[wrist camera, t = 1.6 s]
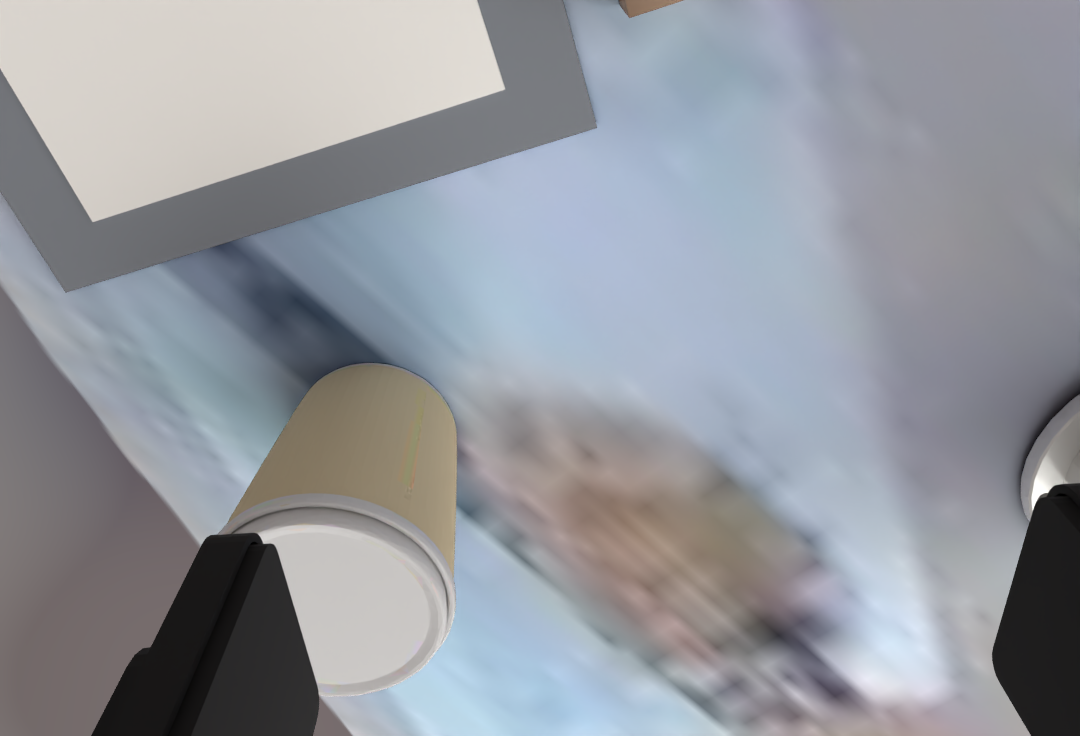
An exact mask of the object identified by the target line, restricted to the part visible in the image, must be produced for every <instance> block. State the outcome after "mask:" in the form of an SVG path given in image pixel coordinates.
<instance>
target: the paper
mask: <svg viewBox="0 0 1080 736" xmlns="http://www.w3.org/2000/svg"><path fill="white" fill-rule="evenodd" d="M0 69H1V71H2V72H3V74H4V76H5V77H6V79H7V81H8V82H9V84H10V86H11V87H12V89H13V91H14V92H15V94H16V96H17V97H18V99H19V101H20V102H21V104H22V106H23V107H24V109H25V111H26V112H27V114H28V116H29V117H30V119H31V121H32V122H33V124H34V126H35V127H36V129H37V131H38V132H39V134H40V136H41V137H42V139H43V141H44V142H45V144H46V146H47V147H48V149H49V151H50V152H51V154H52V156H53V157H54V159H55V161H56V162H57V164H58V166H59V167H60V169H61V170H62V172H63V174H64V175H65V177H66V179H67V180H68V182H69V184H70V185H71V187H72V189H73V190H74V192H75V194H76V195H77V197H78V199H79V200H80V202H81V204H82V205H83V207H84V209H85V210H86V212H87V214H88V215H89V217H90V219H91V220H92V222H95V221H98V220H101V219H105V218H108V217H111V216H114V215H117V214H120V213H123V212H126V211H129V210H133V209H136V208H139V207H142V206H145V205H148V204H151V203H154V202H157V201H160V200H164V199H167V198H170V197H173V196H176V195H179V194H182V193H185V192H188V191H192V190H195V189H198V188H201V187H204V186H207V185H210V184H213V183H216V182H220V181H223V180H226V179H229V178H232V177H235V176H238V175H241V174H244V173H247V172H251V171H254V170H257V169H260V168H263V167H266V166H269V165H272V164H275V163H279V162H282V161H285V160H288V159H291V158H294V157H297V156H300V155H303V154H307V153H310V152H313V151H316V150H319V149H322V148H325V147H328V146H331V145H334V144H338V143H341V142H344V141H347V140H350V139H353V138H356V137H359V136H362V135H366V134H369V133H372V132H375V131H378V130H381V129H384V128H387V127H390V126H394V125H397V124H400V123H403V122H406V121H409V120H412V119H415V118H418V117H422V116H425V115H428V114H431V113H434V112H437V111H440V110H443V109H446V108H449V107H453V106H456V105H459V104H462V103H465V102H468V101H471V100H474V99H477V98H481V97H484V96H487V95H490V94H493V93H496V92H499V91H502V90H505V86H504V83H503V80H502V77H501V73H500V70H499V67H498V64H497V61H496V58H495V54H494V51H493V48H492V45H491V42H490V39H489V36H488V32H487V29H486V26H485V23H484V20H483V17H482V14H481V10H480V7H479V4H478V1H477V0H0Z"/></svg>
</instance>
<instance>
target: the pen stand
mask: <svg viewBox="0 0 1080 736" xmlns="http://www.w3.org/2000/svg"><path fill="white" fill-rule="evenodd" d="M680 1H683V0H619V3H620V6H621V7H622V9H623V10H624V11H625V13H626V14H627V15H628V17H629V18H631V17H634V16H637V15H640V14H643V13H646V12H649V11H653V10H656V9H659V8H662V7H665V6H668V5H671V4H674V3H677V2H680Z"/></svg>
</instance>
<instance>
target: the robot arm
mask: <svg viewBox="0 0 1080 736" xmlns="http://www.w3.org/2000/svg"><path fill="white" fill-rule="evenodd" d="M1020 497H1021V501H1022V505H1023V509H1024V513H1025V515H1026V517H1027V519H1028V520H1029V522H1030V523H1029V526H1028V529H1027V533H1026V536H1025V540H1024V543H1023V547H1022V550H1021V554H1020V557H1019V560H1018V564H1017V567H1016V571H1015V574H1014V578H1013V581H1012V585H1011V588H1010V591H1009V595H1008V598H1007V602H1006V605H1005V609H1004V612H1003V616H1002V619H1001V622H1000V626H999V629H998V633H997V636H996V640H995V643H994V647H993V652H992V661H993V666H994V670H995V673H996V676H997V678H998V680H999V682H1000V684H1001V686H1002V687H1003V689H1004V691H1005V692H1006V694H1007V696H1008V697H1009V699H1010V701H1011V702H1012V704H1013V706H1014V707H1015V709H1016V711H1017V713H1018V714H1019V716H1020V718H1021V719H1022V721H1023V723H1024V724H1025V726H1026V728H1027V729H1028V731H1029V733H1030V734H1031V736H1080V394H1079V395H1078V396H1076V397H1075V398H1074V399H1072V400H1071V401H1070V402H1069V403H1068V404H1067V405H1066V406H1065V407H1064V408H1063V409H1062V410H1061V411H1060V412H1059V413H1058V414H1057V415H1056V416H1054V417H1053V418H1052V419H1051V421H1050V422H1049V423H1048V425H1047V426H1046V427H1045V429H1044V430H1043V431H1042V433H1041V434H1040V435H1039V437H1038V438H1037V439H1036V441H1035V443H1034V445H1033V447H1032V449H1031V451H1030V453H1029V455H1028V457H1027V459H1026V463H1025V466H1024V470H1023V473H1022V477H1021V496H1020ZM318 710H319V691H318V686H317V683H316V679H315V676H314V672H313V669H312V666H311V662H310V659H309V656H308V652H307V649H306V645H305V642H304V639H303V635H302V632H301V629H300V625H299V622H298V618H297V615H296V612H295V608H294V605H293V601H292V598H291V595H290V591H289V588H288V585H287V581H286V578H285V574H284V571H283V568H282V564H281V561H280V558H279V554H278V551H277V549H276V547H275V545H274V544H271V543H269V544H263V542H262V539H261V537H260V536H259V535H258V534H257V533H239V534H223V535H210V536H209V537H207V538H206V539H205V541H204V542H203V544H202V545H201V547H200V549H199V551H198V554H197V555H196V558H195V559H194V561H193V563H192V566H191V568H190V569H189V572H188V574H187V576H186V578H185V580H184V582H183V584H182V586H181V588H180V590H179V592H178V594H177V596H176V598H175V600H174V602H173V604H172V606H171V608H170V610H169V612H168V614H167V616H166V618H165V620H164V622H163V624H162V626H161V628H160V630H159V632H158V634H157V636H156V638H155V640H154V642H153V644H152V646H151V647H150V648H143V649H142V650H140V651H139V652H138V653H137V654H135V655H134V657H133V658H132V660H131V662H130V663H129V664H128V666H127V668H126V669H125V671H124V673H123V675H122V677H121V679H120V681H119V683H118V685H117V687H116V689H115V691H114V693H113V695H112V697H111V698H110V701H109V702H108V704H107V706H106V708H105V710H104V712H103V714H102V716H101V718H100V720H99V722H98V724H97V726H96V728H95V730H94V731H93V733H92V735H91V736H313V732H314V729H315V725H316V721H317V716H318Z"/></svg>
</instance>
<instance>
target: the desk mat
mask: <svg viewBox="0 0 1080 736" xmlns="http://www.w3.org/2000/svg"><path fill="white" fill-rule="evenodd" d="M477 1H478V4H479V7H480V10H481V14H482V17H483V20H484V23H485V26H486V29H487V32H488V36H489V39H490V42H491V45H492V48H493V51H494V54H495V58H496V61H497V64H498V67H499V70H500V73H501V77H502V80H503V83H504V86H505V90H502V91H499V92H496V93H493V94H490V95H487V96H484V97H481V98H477V99H474V100H471V101H468V102H465V103H462V104H459V105H456V106H453V107H449V108H446V109H443V110H440V111H437V112H434V113H431V114H428V115H425V116H422V117H418V118H415V119H412V120H409V121H406V122H403V123H400V124H397V125H394V126H390V127H387V128H384V129H381V130H378V131H375V132H372V133H369V134H366V135H362V136H359V137H356V138H353V139H350V140H347V141H344V142H341V143H338V144H334V145H331V146H328V147H325V148H322V149H319V150H316V151H313V152H310V153H307V154H303V155H300V156H297V157H294V158H291V159H288V160H285V161H282V162H279V163H275V164H272V165H269V166H266V167H263V168H260V169H257V170H254V171H251V172H247V173H244V174H241V175H238V176H235V177H232V178H229V179H226V180H223V181H220V182H216V183H213V184H210V185H207V186H204V187H201V188H198V189H195V190H192V191H188V192H185V193H182V194H179V195H176V196H173V197H170V198H167V199H164V200H160V201H157V202H154V203H151V204H148V205H145V206H142V207H139V208H136V209H133V210H129V211H126V212H123V213H120V214H117V215H114V216H111V217H108V218H105V219H101V220H98V221H95V222H92V220H91V219H90V217H89V215H88V214H87V212H86V210H85V209H84V207H83V205H82V204H81V202H80V200H79V199H78V197H77V195H76V194H75V192H74V190H73V189H72V187H71V185H70V184H69V182H68V180H67V179H66V177H65V175H64V174H63V172H62V170H61V169H60V167H59V166H58V164H57V162H56V161H55V159H54V157H53V156H52V154H51V152H50V151H49V149H48V147H47V146H46V144H45V142H44V141H43V139H42V137H41V136H40V134H39V132H38V131H37V129H36V127H35V126H34V124H33V122H32V121H31V119H30V117H29V116H28V114H27V112H26V111H25V109H24V107H23V106H22V104H21V102H20V101H19V99H18V97H17V96H16V94H15V92H14V91H13V89H12V87H11V86H10V84H9V82H8V81H7V79H6V77H5V76H4V74H3V72H2V71H1V69H0V192H1V193H2V195H3V196H4V198H5V200H6V201H7V203H8V204H9V206H10V207H11V209H12V210H13V212H14V213H15V215H16V217H17V218H18V220H19V221H20V223H21V224H22V226H23V227H24V229H25V230H26V232H27V234H28V235H29V237H30V238H31V240H32V241H33V243H34V244H35V246H36V247H37V249H38V251H39V252H40V254H41V255H42V257H43V258H44V260H45V261H46V263H47V264H48V266H49V268H50V269H51V271H52V272H53V274H54V275H55V277H56V278H57V280H58V281H59V283H60V285H61V286H62V288H63V289H64V291H65V292H69V291H72V290H76V289H79V288H82V287H85V286H88V285H92V284H95V283H98V282H101V281H105V280H108V279H111V278H114V277H117V276H121V275H124V274H127V273H130V272H134V271H137V270H140V269H143V268H146V267H150V266H153V265H156V264H159V263H163V262H166V261H169V260H172V259H176V258H179V257H182V256H185V255H188V254H192V253H195V252H198V251H201V250H205V249H208V248H211V247H214V246H217V245H221V244H224V243H227V242H230V241H234V240H237V239H240V238H243V237H247V236H250V235H253V234H256V233H259V232H263V231H266V230H269V229H272V228H276V227H279V226H282V225H285V224H288V223H292V222H295V221H298V220H301V219H305V218H308V217H311V216H314V215H317V214H321V213H324V212H327V211H330V210H334V209H337V208H340V207H343V206H347V205H350V204H353V203H356V202H359V201H363V200H366V199H369V198H372V197H376V196H379V195H382V194H385V193H388V192H392V191H395V190H398V189H401V188H405V187H408V186H411V185H414V184H417V183H421V182H424V181H427V180H430V179H434V178H437V177H440V176H443V175H447V174H450V173H453V172H456V171H459V170H463V169H466V168H469V167H472V166H476V165H479V164H482V163H485V162H488V161H492V160H495V159H498V158H501V157H505V156H508V155H511V154H514V153H517V152H521V151H524V150H527V149H530V148H534V147H537V146H540V145H543V144H547V143H550V142H553V141H556V140H559V139H563V138H566V137H569V136H572V135H576V134H579V133H582V132H585V131H588V130H592V129H595V128H597V125H596V121H595V118H594V114H593V110H592V107H591V103H590V99H589V96H588V92H587V88H586V84H585V81H584V77H583V73H582V70H581V66H580V62H579V59H578V55H577V51H576V48H575V44H574V40H573V37H572V33H571V29H570V25H569V22H568V18H567V14H566V11H565V7H564V3H563V0H477Z"/></svg>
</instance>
